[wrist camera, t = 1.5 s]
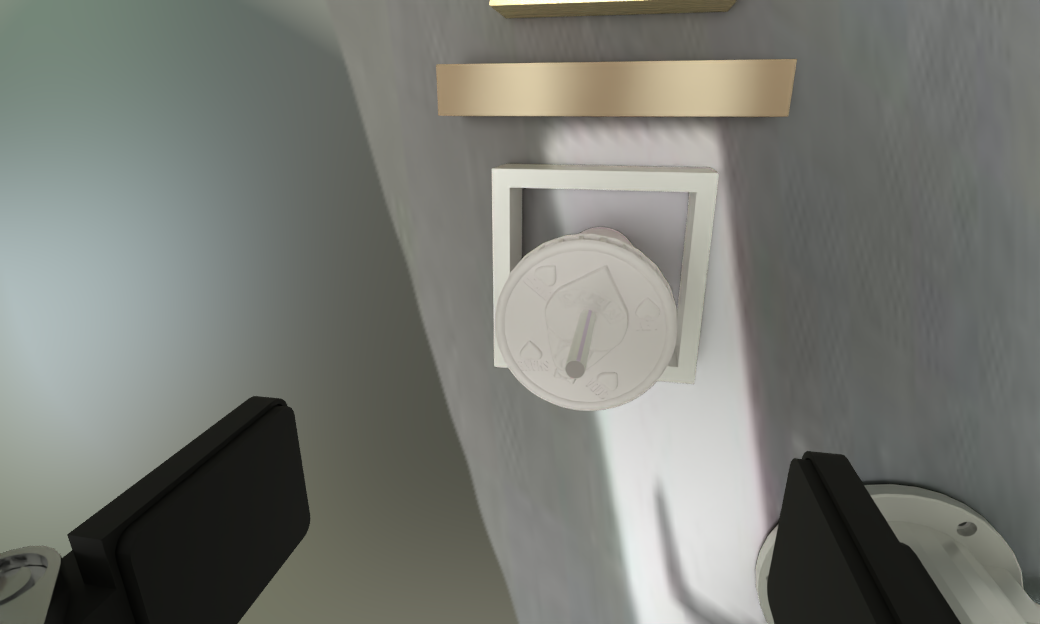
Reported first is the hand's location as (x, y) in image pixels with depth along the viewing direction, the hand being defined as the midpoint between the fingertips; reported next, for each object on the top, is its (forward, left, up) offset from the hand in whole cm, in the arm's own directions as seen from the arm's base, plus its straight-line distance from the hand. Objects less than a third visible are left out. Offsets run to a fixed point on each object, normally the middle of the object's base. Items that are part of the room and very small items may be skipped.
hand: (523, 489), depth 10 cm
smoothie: (0, 0, -19) cm, 19 cm away
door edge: (0, -8, -19) cm, 20 cm away
